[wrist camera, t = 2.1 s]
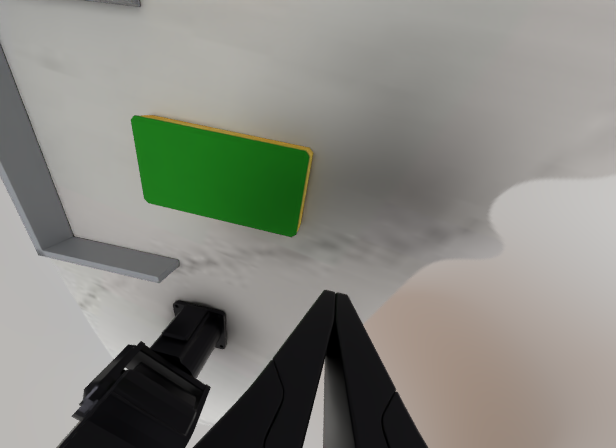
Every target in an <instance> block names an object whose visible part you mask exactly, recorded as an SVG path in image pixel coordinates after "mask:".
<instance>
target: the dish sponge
mask: <svg viewBox="0 0 616 448" xmlns="http://www.w3.org/2000/svg"><path fill="white" fill-rule="evenodd" d="M131 124H132V130H133V136H134V141H135V147H136V153H137V159H138V165H139V171H140V177H141V183H142V189H143V195H144V199H145V200H146V201H147V202H148V203H151V204H155V205H159V206H163V207H167V208H172V209H176V210H180V211H184V212H188V213H192V214H197V215H201V216H205V217H209V218H213V219H218V220H222V221H226V222H230V223H234V224H238V225H243V226H247V227H251V228H255V229H259V230H264V231H268V232H272V233H276V234H280V235H285V236H289V237H293V236H294V235H296V233H297V231H298V229H299V227H300V224H301V219H302V213H303V207H304V202H305V196H306V191H307V185H308V179H309V174H310V168H311V162H312V157H313V152H312V151H311V149H310V148H308V147H304V146H299V145H294V144H289V143H284V142H279V141H275V140H270V139H265V138H260V137H255V136H250V135H246V134H241V133H236V132H231V131H226V130H221V129H217V128H212V127H207V126H202V125H197V124H192V123H188V122H183V121H178V120H173V119H168V118H163V117H159V116H154V115H144V116H133V118H132V119H131Z"/></svg>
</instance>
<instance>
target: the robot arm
mask: <svg viewBox="0 0 616 448" xmlns="http://www.w3.org/2000/svg"><path fill="white" fill-rule="evenodd" d="M173 308H174V313H175V318H174V319H173V320H172V322H171V323H170V324H169V325H168V326H167V327H166V328H165V330H164V331H163V332H162V334H161V336H160V337H159V338H158V339H157V340H156V341H155V342H154V344H153V345H152V346H151V347H150V348H149V347H147V346H146V345H145V343H143V342H142V341H141V342H140V343H139V344H138V345H137V346H136V345H127V346H126V347H125V348H124V349H123V351H122V352H121V353H120V354H119V355H118V356H117V357H116V358H115V359H114V360H113V361H112V362H111V363H110V364H109V365H108V366H107V367H106V368H105V369H104V370H103V371H102V372H101V373H100V374H99V375H98V376H97V377H96V378H95V379H94V380H93V381H92V382H91V383H90V384H89V385H88V386H87V387H86V388H85V389H84V395H83V401H82V402H81V403H80V404H79V405H80V406H81V407H80V408H79V409H78V410H77V411H76V412H75V413H74V414H73V415H72V417H73V418H75V419H77V420H79V422H78V424H77V425H76V426H75V427H74V428H73V429H72V430H71V432H70V433H69V434H68V435H67V436H66V437H65V438H64V439H63V441H62V442H61V443H60V444H59V445H58V446H57V448H185V447H186V445H187V443H188V442H189V440H190V438H191V436H192V434H193V432H194V429H195V427H196V424H197V422H198V419H199V416H200V414H201V411H202V409H203V406H204V403H205V401H206V398H207V396H208V393H209V390H210V388H211V387H210V386H208V385H207V384H206V385H205V384H203V383H202V382H200V381H199V380H197V379H196V378H197V377H198V375H199V373H200V371H201V370H202V368H203V366H204V365H205V363H206V361H207V359H208V358H209V356H210V354H211V353H212V351H213V349H214V347H216V348H220V349H225V347H226V345H227V341H226V317H225V313H224V312H223V311H219V310H215V309H211V308H207V307H202V306H198V305H194V304H190V303H186V302H181V301H176V302H175V303H174V304H173ZM324 360H325V377H324V428H323V448H428V446H427V445H426V443H425V441H424V440H423V438H422V436H421V435H420V433H419V431H418V429H417V428H416V426H415V424H414V422H413V420H412V418H411V417H410V415H409V413H408V411H407V409H406V407H405V406H404V404H403V402H402V400H401V398H400V396H399V394H398V392H395V391H396V388H395V386H394V384H393V382H392V380H391V378H390V377H389V375H388V373H387V371H386V369H385V367H384V365H383V363H382V361H381V359H380V357H379V355H378V353H377V351H376V349H375V347H374V345H373V344H372V342H371V339H370V338H369V336H368V334H367V332H366V330H365V328H364V326H363V324H362V322H361V320H360V318H359V316H358V314H357V312H356V310H355V308H354V306H353V305H352V303H351V301H350V299H349V297H348V295H346V294H342V293H336V294H335V292H333V291H329V290H324V291H323V292H322V294H321V295H320V296H319V298H318V299H317V300H316V301H315V303H314V304H313V305H312V307H311V308H310V309H309V311H308V312H307V313H306V315H305V316H304V317H303V319H302V320H301V321H300V323H299V324H298V325H297V327H296V328H295V329H294V331H293V332H292V333H291V335H290V336H289V337H288V339H287V340H286V341H285V343H284V344H283V345H282V347H281V348H280V349H279V351H278V352H277V353H276V355H275V356H274V357H273V360H271V361H270V362H269V364H268V365H267V366H266V368H265V369H264V370H263V371H262V373H261V374H260V375H259V376H258V378H257V379H256V380H255V381H254V383H253V384H252V385H251V386H250V387H249V389H248V390H247V391H246V392H245V393H244V394H243V395H242V396H241V397H240V399H239V400H238V401H237V402H236V403H235V404H234V405H233V406H232V407H231V408H230V409H229V410H228V411H227V412H226V413H225V415H224V416H223V417H222V418H221V419H220V420H219V421H218V422H217V423H216V424H215V425H214V426H213V427H212V428H211V429H210V430H209V431H208V432H207V433H206V434H205V435H204V436H203V438H202V439H201V440H200V441H199V442H198V443H197V444H196V445H195V446H194V447H193V448H302V447H303V443H304V440H305V435H306V432H307V428H308V424H309V420H310V416H311V412H312V408H313V404H314V400H315V396H316V392H317V388H318V384H319V380H320V376H321V372H322V368H323V364H324ZM124 368H127V369H128V370H124Z"/></svg>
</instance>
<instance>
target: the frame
mask: <svg viewBox="0 0 616 448" xmlns="http://www.w3.org/2000/svg"><path fill="white" fill-rule="evenodd" d="M87 1H95V2H104V3H112V4H121V5H130V6H138V7H140V1H139V0H87ZM0 176H1V179H2V181H3V183H4V185H5V187H6V189H7V191H8V193H9V195H10V197H11V199H12V201H13V203H14V205H15V207H16V210H17V212H18V213H19V216H20V218H21V220H22V222H23V224H24V226H25V228H26V230H27V232H28V234H29V236H30V239H31V241H32V243H33V245H34V247H35V249H36V251H37V253H38V255H40V256H45V257H49V258H53V259H57V260H61V261H66V262H70V263H74V264H79V265H83V266H87V267H91V268H96V269H100V270H104V271H109V272H113V273H117V274H121V275H126V276H130V277H134V278H139V279H143V280H147V281H151V282H156V283H160V282H161V281H162V280H164V279H165V278H166V277H167V276H168V275H169V274H170V273H171V272H173V271H174V270H175V269H176V268H177V267H178V266H179V260H177V259H173V258H168V257H164V256H159V255H155V254H150V253H146V252H141V251H137V250H132V249H128V248H123V247H119V246H114V245H109V244H105V243H100V242H96V241H91V240H87V239H82V238H78V237H74V236H73V234H72V231H71V229H70V226H69V223H68V221H67V218H66V215H65V213H64V210H63V208H62V205H61V202H60V200H59V197H58V195H57V192H56V189H55V187H54V184H53V181H52V179H51V176H50V174H49V171H48V168H47V166H46V163H45V161H44V158H43V155H42V153H41V150H40V147H39V145H38V142H37V140H36V137H35V134H34V132H33V129H32V127H31V124H30V121H29V119H28V116H27V113H26V111H25V108H24V106H23V103H22V100H21V98H20V95H19V93H18V90H17V87H16V85H15V82H14V79H13V77H12V74H11V72H10V69H9V66H8V64H7V61H6V59H5V56H4V53H3V51H2V48H1V45H0Z"/></svg>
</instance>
